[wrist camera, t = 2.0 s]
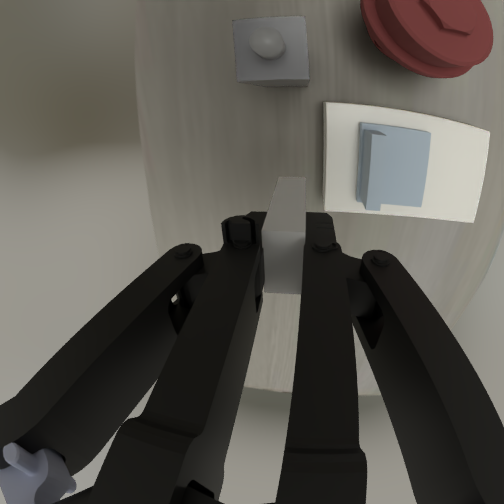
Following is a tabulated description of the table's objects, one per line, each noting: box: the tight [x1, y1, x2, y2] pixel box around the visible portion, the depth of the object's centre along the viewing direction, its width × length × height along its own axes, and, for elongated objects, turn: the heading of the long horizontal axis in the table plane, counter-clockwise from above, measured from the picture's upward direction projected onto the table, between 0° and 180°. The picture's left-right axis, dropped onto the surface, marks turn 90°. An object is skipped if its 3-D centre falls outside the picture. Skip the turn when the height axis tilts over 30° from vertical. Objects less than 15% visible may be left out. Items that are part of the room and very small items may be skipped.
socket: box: [322, 101, 490, 223], centre depth 22 cm, size 10×17×4 cm, turn 93°
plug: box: [232, 16, 310, 87], centre depth 16 cm, size 4×4×14 cm
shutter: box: [356, 122, 431, 211], centre depth 19 cm, size 7×6×4 cm
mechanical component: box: [360, 0, 493, 78], centre depth 12 cm, size 12×10×10 cm
